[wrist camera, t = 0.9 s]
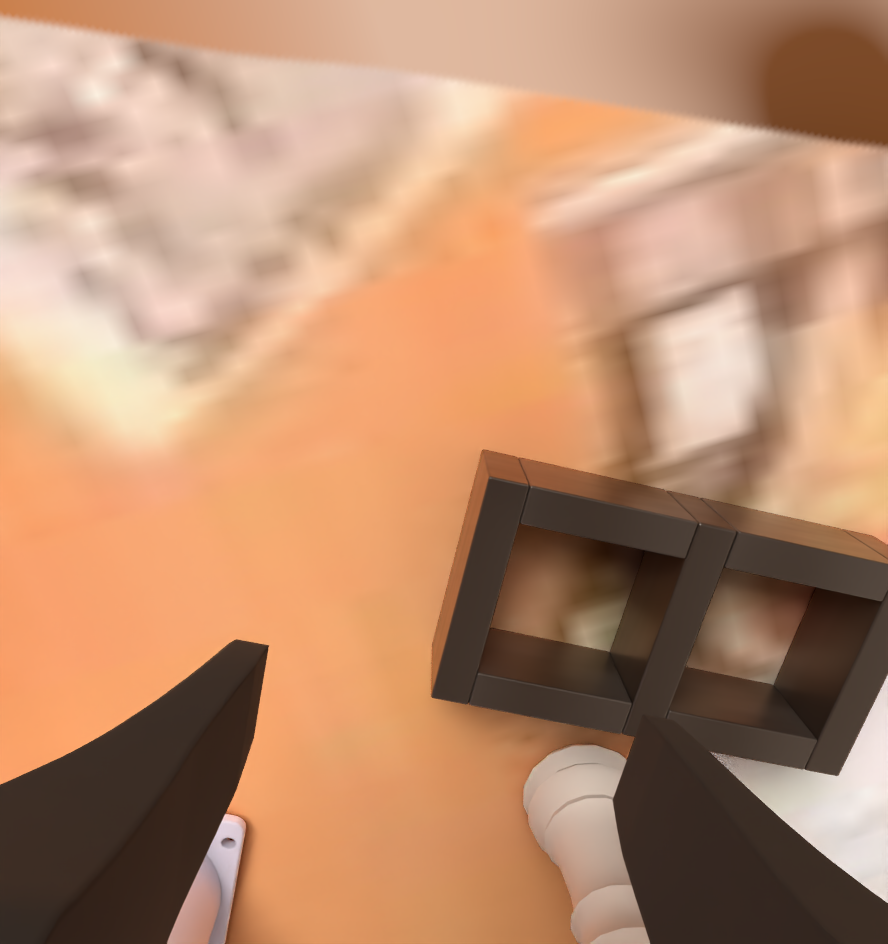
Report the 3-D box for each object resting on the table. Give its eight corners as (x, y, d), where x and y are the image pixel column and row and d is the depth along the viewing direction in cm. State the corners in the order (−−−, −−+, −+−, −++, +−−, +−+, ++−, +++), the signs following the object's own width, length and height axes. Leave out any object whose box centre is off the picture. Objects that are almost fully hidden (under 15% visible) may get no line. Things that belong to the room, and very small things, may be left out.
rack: (873, 535, 22) (937, 574, 20) (792, 717, 25) (838, 777, 22) (482, 448, 21) (489, 476, 19) (431, 646, 24) (430, 698, 21)
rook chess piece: (659, 796, 26) (755, 1022, 18) (560, 850, 26) (611, 1089, 19) (599, 715, 24) (673, 918, 17) (497, 773, 25) (524, 993, 18)
